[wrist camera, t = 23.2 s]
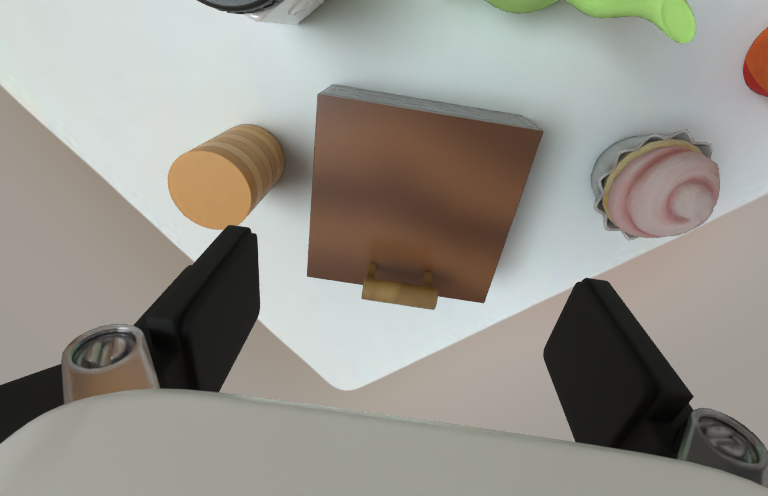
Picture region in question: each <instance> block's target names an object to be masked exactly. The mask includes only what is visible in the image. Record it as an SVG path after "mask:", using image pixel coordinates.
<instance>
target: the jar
mask: <svg viewBox="0 0 768 496" xmlns="http://www.w3.org/2000/svg"><path fill="white" fill-rule="evenodd" d="M197 1H199V2H201V3H203V4H205V5H207V6H210V7H213V8H216V9H217V10H220V11H227V12H228V13H235V14H243V15H245V16H247V17H249V18H251V19H253V20H254V21H256V22H266V23H280V24H293V25H297V24H298V23H299V22H301V21H302V20H303V19H304V18H305V17H306V16H308V15H309V14H310V13H311V12H312V11H313V10H315V9H316V8H317V7H318V6H319V5H320V4H322V3H323V2H324V1H325V0H197Z"/></svg>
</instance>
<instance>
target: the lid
mask: <svg viewBox="0 0 768 496" xmlns="http://www.w3.org/2000/svg"><path fill="white" fill-rule="evenodd" d="M542 134H543V131H542V130H541V129H539V128H533V127H527V126H521V125H514V124H508V123H502V122H496V121H490V120H484V119H478V118H472V117H466V116H460V115H454V114H447V113H441V112H435V111H429V110H423V109H417V108H411V107H405V106H399V105H393V104H386V103H380V102H374V101H368V100H362V99H356V98H350V97H344V96H338V95H332V94H326V93H319V94H318V95H317V113H316V130H315V147H314V164H313V181H312V198H311V215H310V233H309V250H308V267H307V277H314V278H320V279H327V280H334V281H340V282H347V283H354V284H360V285H363V291H362V299H365V300H372V301H378V302H385V303H392V304H398V305H405V306H412V307H418V308H425V309H432V310H434V309H435V307H436V304H437V298H438V296H440V297H446V298H453V299H460V300H466V301H473V302H479V303H484V302H485V299H486V296H487V293H488V290H489V288H490V285H491V282H492V279H493V276H494V273H495V270H496V267H497V264H498V261H499V259H500V256H501V253H502V250H503V247H504V244H505V241H506V238H507V235H508V233H509V230H510V227H511V224H512V221H513V218H514V215H515V212H516V209H517V206H518V204H519V201H520V198H521V195H522V192H523V189H524V186H525V183H526V180H527V177H528V175H529V172H530V169H531V166H532V163H533V160H534V157H535V154H536V151H537V148H538V146H539V143H540V140H541V137H542Z"/></svg>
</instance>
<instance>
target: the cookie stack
mask: <svg viewBox="0 0 768 496" xmlns="http://www.w3.org/2000/svg"><path fill="white" fill-rule="evenodd" d="M284 166H285V159H284V154H283V151H282V148H281V146H280V144H279V143H278V141H277V140H276V139H275V138H274V136H273V135H271V134H270V133H269V132H268V131H266V130H265V129H263V128H261V127H258V126H255V125H250V124H243V125H238V126H235V127H233V128H231V129H229V130H227V131H225V132H223V133H222V134H220V135H218V136H216V137H214V138H212V139H210V140H209V141H207V142H205V143H203V144H201V145H199V146H198V147H196V148H194V149H192V150H190V151H188V152H186V153H185V154H183V155H181V156H180V157H178V158H177V159H176V160H175V161H174V163H173V164H172V166H171V168H170V170H169V174H168V188H169V192H170V195H171V197H172V200H173V201H174V203H175V205H176V206H177V207H178V209H179V210H180V211H181V212H182V213H183V214H184V215H185V216H186V217H187V218H189V219H190V220H191V221H193V222H195V223H196V224H198V225H201V226H203V227H206V228H210V229H220V230H221V229H225V228H226V227H227V226H228V225H234V226H236V225H238V224H240V223H241V222H242V221H243V220H244V219H245V218H246V217H247V216H248V215H249V213H250V212H251V211H252V210H253V209H254V208H255V207H256V205H257V204H258V203H259V202H260V201H261V200H262V199H263V197H264V196H265V195H266V194H267V193H268V192H269V191H270V189H271V188H272V187H273V186H274V185H275V184H276V183H277V181H278V180H279V179H280V178H281V176H282V174H283V171H284Z"/></svg>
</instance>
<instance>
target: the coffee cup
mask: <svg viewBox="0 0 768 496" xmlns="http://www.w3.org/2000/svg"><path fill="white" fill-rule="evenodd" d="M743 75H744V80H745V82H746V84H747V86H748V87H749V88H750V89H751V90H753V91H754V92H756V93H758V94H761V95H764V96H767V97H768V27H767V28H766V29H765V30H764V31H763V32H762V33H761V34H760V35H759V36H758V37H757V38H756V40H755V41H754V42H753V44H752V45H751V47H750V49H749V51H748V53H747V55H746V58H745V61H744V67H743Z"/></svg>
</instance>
